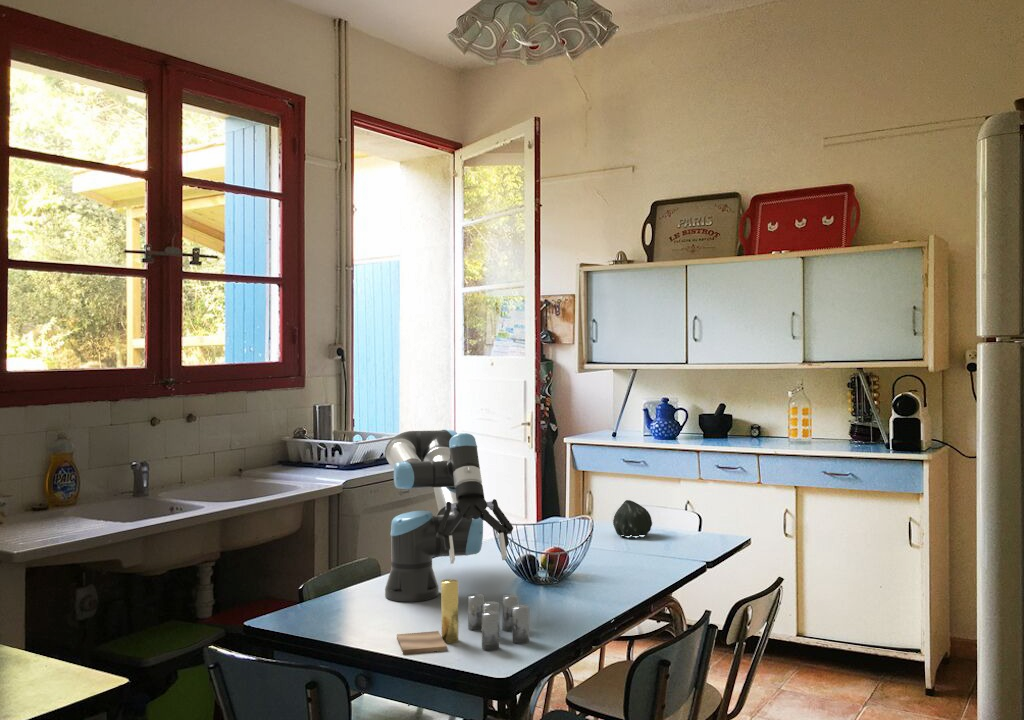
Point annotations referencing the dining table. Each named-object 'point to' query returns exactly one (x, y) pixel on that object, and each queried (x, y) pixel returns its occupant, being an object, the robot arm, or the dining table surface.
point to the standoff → (449, 610)
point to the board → (421, 642)
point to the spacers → (498, 620)
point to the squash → (632, 520)
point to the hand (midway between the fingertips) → (478, 559)
